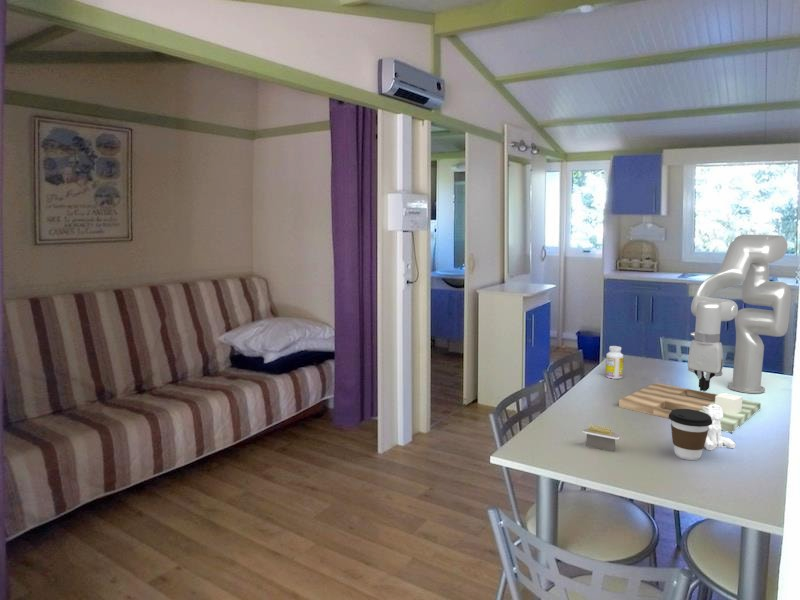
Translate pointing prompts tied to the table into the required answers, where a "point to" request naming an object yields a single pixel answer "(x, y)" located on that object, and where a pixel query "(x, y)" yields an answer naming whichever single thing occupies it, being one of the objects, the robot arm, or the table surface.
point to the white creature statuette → (716, 429)
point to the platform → (600, 438)
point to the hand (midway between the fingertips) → (703, 390)
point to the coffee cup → (689, 432)
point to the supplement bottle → (614, 363)
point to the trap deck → (683, 403)
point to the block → (729, 403)
